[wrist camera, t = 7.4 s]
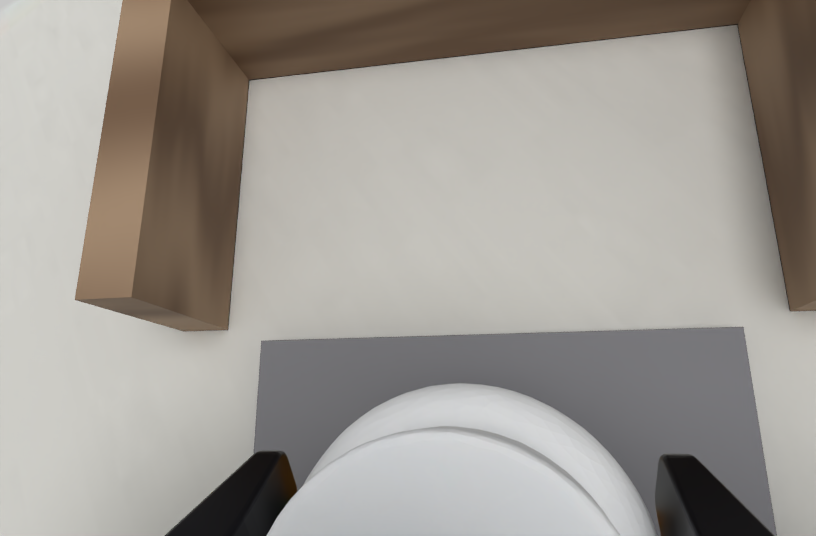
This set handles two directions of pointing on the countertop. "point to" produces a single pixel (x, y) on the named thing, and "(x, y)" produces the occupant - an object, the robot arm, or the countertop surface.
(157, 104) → the brown walled open frame
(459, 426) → the supplement bottle
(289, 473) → the robot arm
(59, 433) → the countertop surface
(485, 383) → the mat
